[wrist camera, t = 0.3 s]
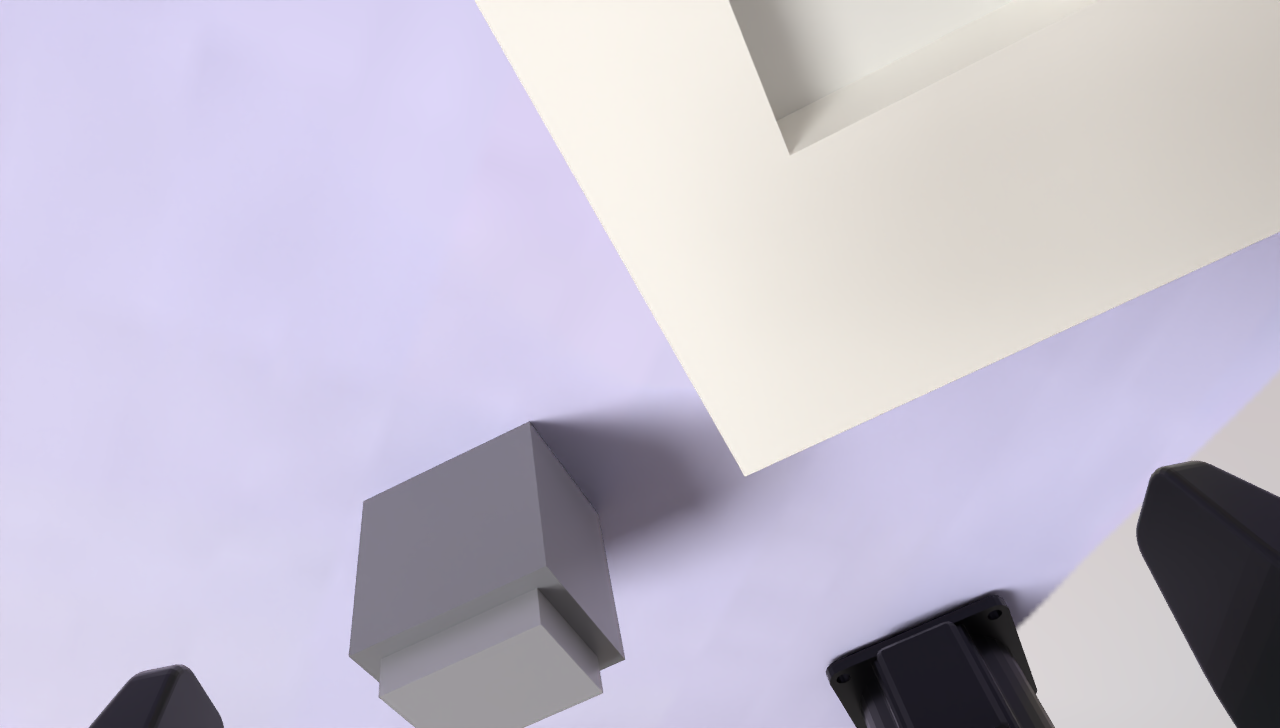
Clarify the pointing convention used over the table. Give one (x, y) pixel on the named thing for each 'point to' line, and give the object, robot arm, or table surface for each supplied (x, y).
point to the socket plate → (898, 177)
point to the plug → (485, 590)
